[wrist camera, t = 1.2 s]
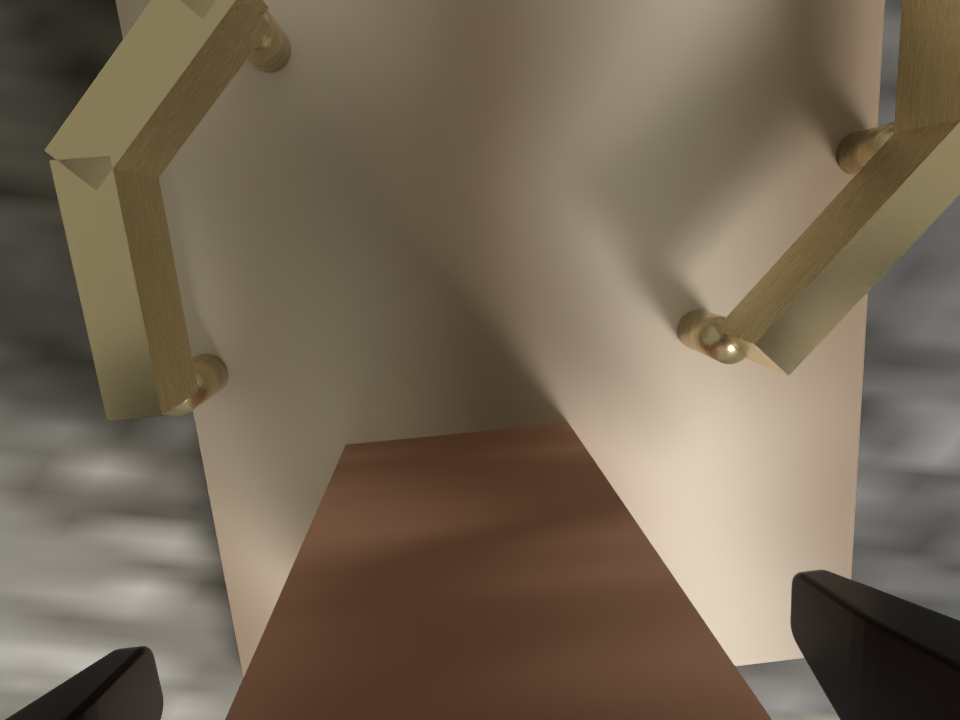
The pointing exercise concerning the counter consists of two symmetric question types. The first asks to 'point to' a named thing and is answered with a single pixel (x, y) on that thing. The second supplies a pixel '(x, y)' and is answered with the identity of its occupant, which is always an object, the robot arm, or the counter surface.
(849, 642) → the robot arm
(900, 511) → the counter surface
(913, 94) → the bent wooden frame
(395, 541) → the block
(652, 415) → the beige board
